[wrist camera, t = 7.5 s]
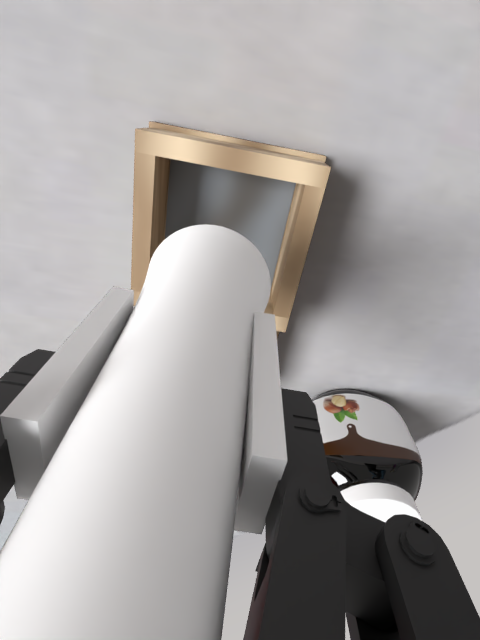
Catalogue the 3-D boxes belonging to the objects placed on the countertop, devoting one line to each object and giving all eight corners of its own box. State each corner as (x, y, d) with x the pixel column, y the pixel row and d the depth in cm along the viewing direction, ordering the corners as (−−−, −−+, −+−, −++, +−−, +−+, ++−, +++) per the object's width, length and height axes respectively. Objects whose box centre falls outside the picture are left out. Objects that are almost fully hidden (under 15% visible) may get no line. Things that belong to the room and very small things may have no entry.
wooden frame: (324, 155, 25) (337, 162, 21) (265, 378, 35) (265, 415, 30) (153, 121, 25) (130, 121, 20) (141, 357, 34) (124, 392, 30)
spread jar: (401, 388, 35) (460, 499, 25) (376, 467, 40) (415, 584, 30) (277, 381, 35) (284, 489, 25) (268, 461, 40) (272, 575, 30)
